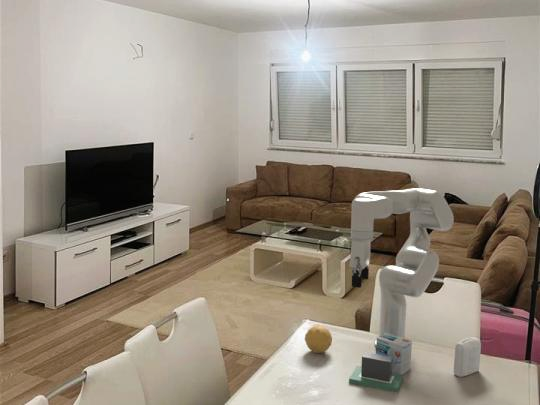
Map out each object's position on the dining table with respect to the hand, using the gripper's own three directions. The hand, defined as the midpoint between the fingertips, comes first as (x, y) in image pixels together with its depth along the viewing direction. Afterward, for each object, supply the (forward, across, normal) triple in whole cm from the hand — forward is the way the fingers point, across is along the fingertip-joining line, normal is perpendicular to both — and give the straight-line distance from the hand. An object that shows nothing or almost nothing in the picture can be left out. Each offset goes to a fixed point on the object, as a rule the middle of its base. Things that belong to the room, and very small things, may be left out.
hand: (360, 282), depth 196 cm
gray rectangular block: (+29, +9, +9) cm, 31 cm away
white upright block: (+31, -10, +36) cm, 48 cm away
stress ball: (+31, -4, -16) cm, 35 cm away
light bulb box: (+31, -3, +12) cm, 33 cm away
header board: (+30, +9, +9) cm, 33 cm away
